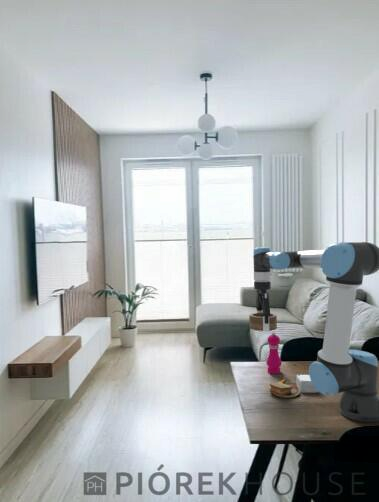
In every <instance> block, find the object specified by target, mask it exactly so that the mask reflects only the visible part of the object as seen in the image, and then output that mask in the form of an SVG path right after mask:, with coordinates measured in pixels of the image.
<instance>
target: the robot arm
mask: <svg viewBox="0 0 379 502" xmlns="http://www.w3.org/2000/svg"><path fill="white" fill-rule="evenodd" d="M252 256H253V280H254V281H253V283H254V284H253V289H254V290H256V301H255V309H256V313H263V314H262V316H263V331H262V332H270V331H269V316H270V315H271V314H270V313H271V308H270V306H271V305H270V297H269V292H267V291H268V290H271V286H272V285H271V284H272V283H271V276H272V273H271V270H277V271H279V270H280V271H281V270H282V271H283V270H286V269H287V270H288V269H321V271H322V273H323V274H324V275H325V276H326V277H325V280H326V282H327V283H328V284H329V290H328V299H327V307H326V319H325V326H324V335H323V336H324V337H323V343H322V348H321V349H319V350H318V352H317V357H316V360H315V361H313V362H312V363H310V365H309V367H308V375H309V376H310V379H311V382H312V383H313V385H314V387H315V388H316V389H317V390H318V391H319V392H318V393H321V394H322V395H326V396H330V395H338V394H340V393H341V397H340V399H339V402H338V411H339V413H340V414H341V415H342V416H343V417H345V418H348V419H350V420H353V421H355V422H360V423H377V422H378V423H379V395H378V393H379V391H378V389H379V388H378V387H379V383H378V382H379V377H378V375H379V372H378V371H379V369H378V368H379V365H378V363H379V362H378V358H377V357H376V355H375V354H373V353H372V352H371V353H370V352H368V351H365V350H364V351H363V350H357V349H350V345H351V336H352V330H353V321H354V320H353V319H354V312H355V307H356V306H355V305H356V296H357V289H358V288H360V287H361V286H362V285H363V280H364V277H365V276H369V275H372V274H373V275H374V274H375V273H377V272H378V271H379V247H378V246H377V245H376V244H374V243H372V242H368V241H362V242H361V241H359V242H358V241H356V242H354V241H353V242H347V241H346V242H345V241H344V242H343V241H342V242H336V243H332V244H329V246H327V247H326V248H325V249H320V250H319V249H318V250H295V251H271V248H270V247H255V248H254V249H253V255H252Z"/></svg>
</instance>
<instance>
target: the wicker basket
mask: <svg viewBox="0 0 379 502" xmlns="http://www.w3.org/2000/svg"><path fill="white" fill-rule="evenodd" d="M262 314H263V313H257V312H254V313H249V316H248V317H249V318H248V319H249V320H248V323H249V329H250V330H252V331H259V332H264V331H263V316H262ZM270 314H271V315H270V316H269V331H268V332H271V331H272V332H273V331H275V330H277V329H278V321H277V320H278V317H277V314H276V313H272V312H270Z"/></svg>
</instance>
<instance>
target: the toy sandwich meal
mask: <svg viewBox="0 0 379 502" xmlns="http://www.w3.org/2000/svg"><path fill="white" fill-rule="evenodd" d="M269 386H270V388H269V392H270V393H272V395H274V396H276V397H279V398H284V399H291V398H292V399H293V398H296V397H298V395H301V392H300V390H299V389H298V387H297V386H295V385H294V384H293V383H292V384H291V383H288V384H286V378H284V379H282V380H280V381H278V382H269Z"/></svg>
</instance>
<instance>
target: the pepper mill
mask: <svg viewBox="0 0 379 502" xmlns="http://www.w3.org/2000/svg"><path fill="white" fill-rule="evenodd" d="M280 342H281V339H280V337H279V336H278V335H277V334H276V332H275V331H272V332H271V335H268V336H267V344H268V349H269V352H268V356H267V359H266V366H268V367H267V372H268V373H270V374H271V375H272V374H273V375H278V374H280V373H281V367H282V360H281V357H280V354H279V348H280V345H279V344H280Z"/></svg>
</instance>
